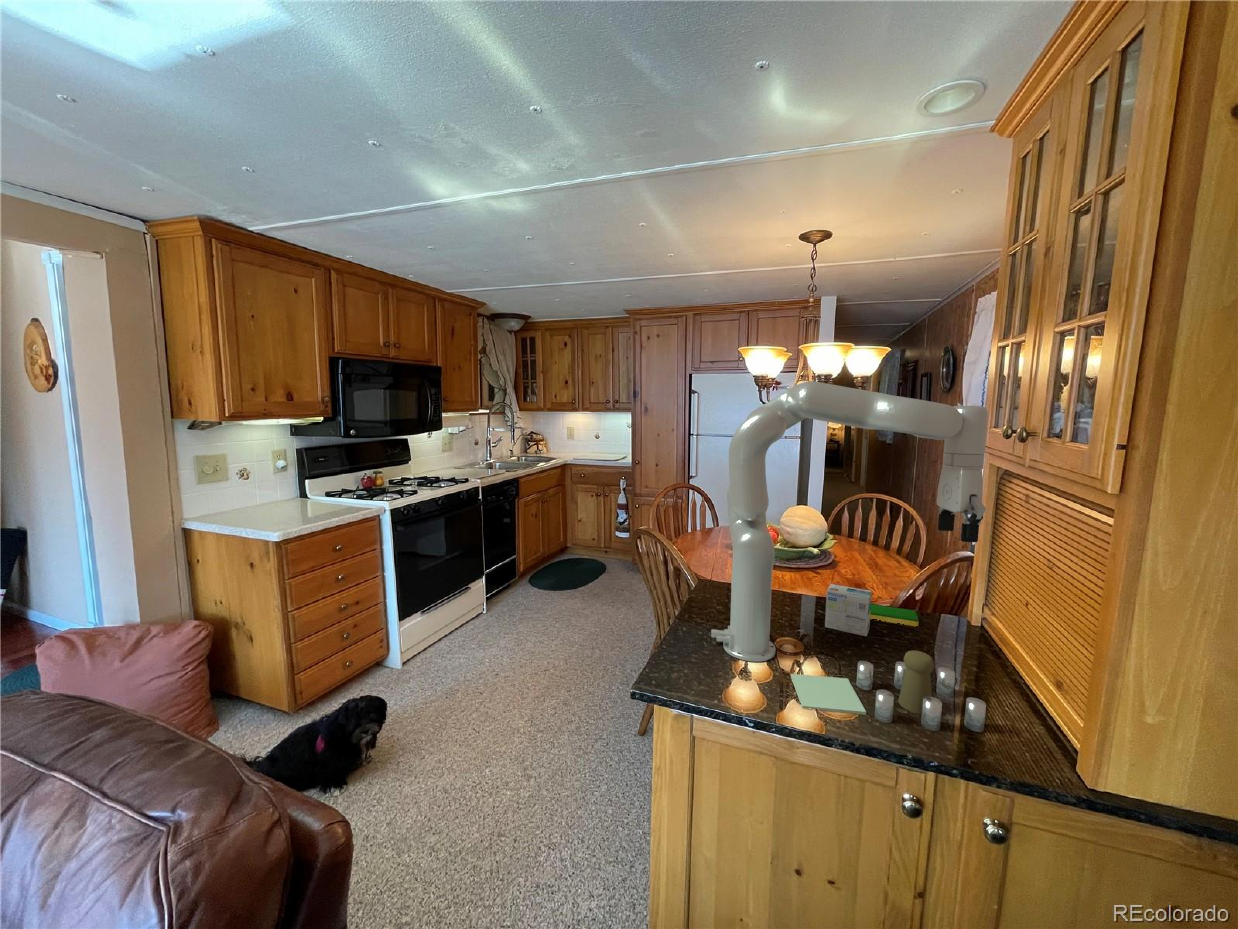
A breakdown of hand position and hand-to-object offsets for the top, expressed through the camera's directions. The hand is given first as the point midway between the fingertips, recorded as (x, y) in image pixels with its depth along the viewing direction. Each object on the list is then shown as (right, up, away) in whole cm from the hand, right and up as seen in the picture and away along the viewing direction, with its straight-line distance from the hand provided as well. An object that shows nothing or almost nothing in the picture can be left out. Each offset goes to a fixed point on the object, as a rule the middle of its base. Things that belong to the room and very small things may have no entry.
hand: (956, 535), depth 110 cm
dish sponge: (+1, -29, +30) cm, 41 cm away
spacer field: (-17, -33, -12) cm, 39 cm away
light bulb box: (-14, -29, +23) cm, 40 cm away
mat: (-33, -32, -8) cm, 47 cm away
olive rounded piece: (-17, -33, -12) cm, 39 cm away
